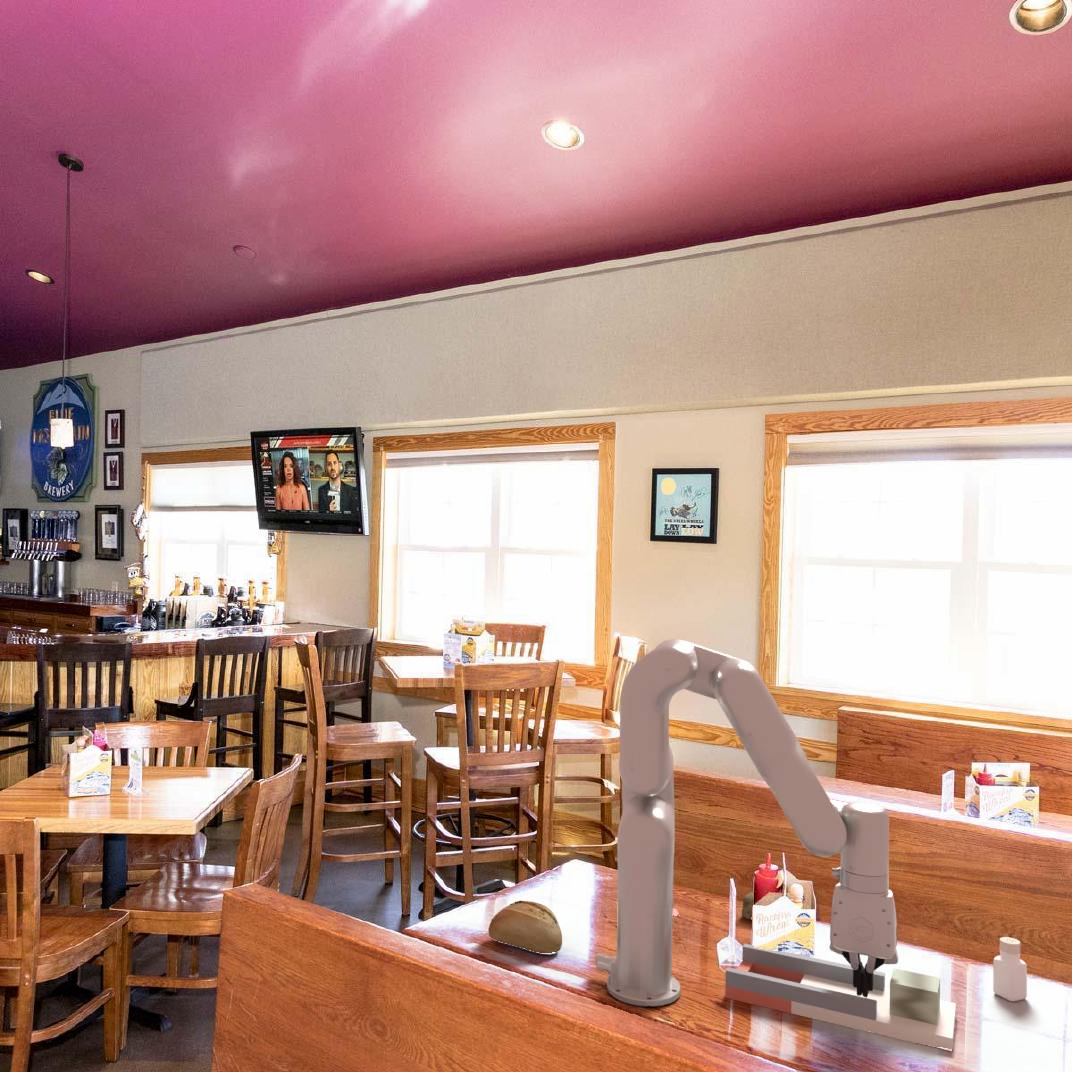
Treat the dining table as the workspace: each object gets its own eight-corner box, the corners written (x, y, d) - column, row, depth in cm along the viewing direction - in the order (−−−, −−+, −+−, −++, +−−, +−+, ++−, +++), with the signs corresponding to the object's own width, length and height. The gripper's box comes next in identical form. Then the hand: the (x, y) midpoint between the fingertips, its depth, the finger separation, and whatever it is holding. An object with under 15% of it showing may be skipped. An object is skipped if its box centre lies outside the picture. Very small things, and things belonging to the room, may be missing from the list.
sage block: (889, 1014, 144) (889, 982, 144) (893, 999, 149) (893, 968, 149) (937, 1025, 141) (937, 992, 141) (939, 1009, 146) (940, 977, 146)
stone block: (793, 933, 182) (793, 908, 182) (739, 920, 188) (739, 896, 188) (802, 924, 187) (802, 899, 187) (749, 912, 193) (749, 888, 193)
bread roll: (501, 931, 179) (502, 890, 179) (571, 945, 173) (572, 903, 173) (479, 949, 170) (480, 906, 170) (552, 964, 164) (553, 920, 164)
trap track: (725, 997, 153) (725, 970, 153) (744, 968, 164) (744, 943, 164) (952, 1051, 137) (952, 1021, 137) (955, 1015, 148) (956, 987, 148)
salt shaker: (1012, 1003, 153) (1012, 946, 153) (991, 993, 157) (991, 937, 157) (1028, 999, 155) (1028, 943, 155) (1007, 989, 158) (1008, 934, 159)
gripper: (813, 878, 150) (812, 991, 149) (910, 895, 143) (909, 1014, 142) (821, 866, 156) (820, 974, 155) (915, 882, 149) (913, 995, 149)
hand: (863, 993), depth 149 cm, fingers closed
